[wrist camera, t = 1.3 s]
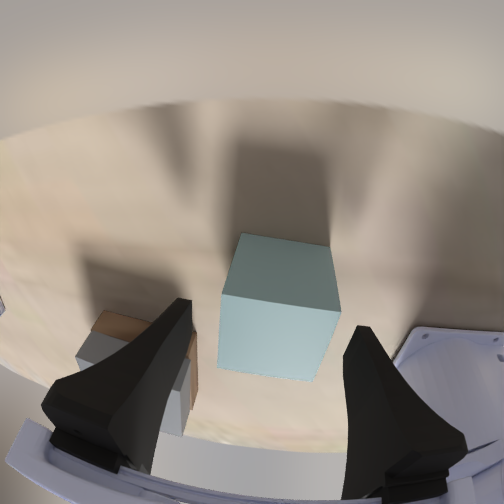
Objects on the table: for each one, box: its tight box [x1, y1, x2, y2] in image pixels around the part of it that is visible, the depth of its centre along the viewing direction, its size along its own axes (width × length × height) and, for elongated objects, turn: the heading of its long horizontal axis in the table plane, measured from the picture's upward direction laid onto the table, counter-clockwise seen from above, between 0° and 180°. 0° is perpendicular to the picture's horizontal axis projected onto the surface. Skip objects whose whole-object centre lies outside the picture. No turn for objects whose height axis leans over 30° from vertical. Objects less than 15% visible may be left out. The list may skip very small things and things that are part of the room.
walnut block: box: [91, 310, 198, 410], centre depth 21 cm, size 7×7×2 cm
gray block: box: [75, 330, 191, 437], centre depth 19 cm, size 7×7×2 cm
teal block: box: [217, 233, 341, 382], centre depth 15 cm, size 4×4×5 cm
